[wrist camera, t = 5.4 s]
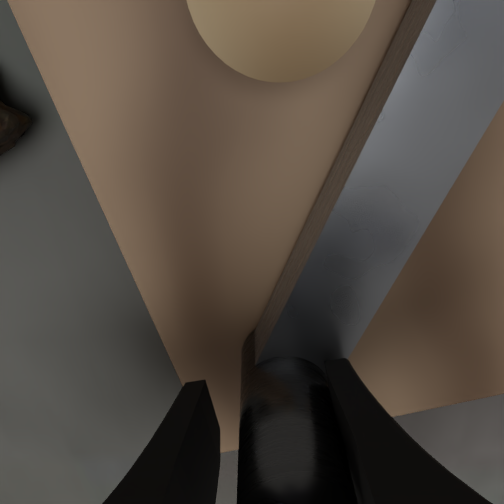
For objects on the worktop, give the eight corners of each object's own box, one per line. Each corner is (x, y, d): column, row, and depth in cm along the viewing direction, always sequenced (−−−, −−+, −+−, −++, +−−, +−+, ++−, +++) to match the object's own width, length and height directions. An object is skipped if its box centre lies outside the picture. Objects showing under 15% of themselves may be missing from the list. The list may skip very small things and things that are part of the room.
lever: (495, -288, 9) (935, -904, 3) (666, -181, 9) (1273, -528, 4) (209, 363, 15) (186, 535, 10) (320, 397, 16) (356, 576, 11)
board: (921, -514, 8) (1486, -992, 5) (739, 318, 16) (887, 397, 13) (-32, -134, 11) (-188, -240, 7) (215, 431, 19) (206, 527, 15)
